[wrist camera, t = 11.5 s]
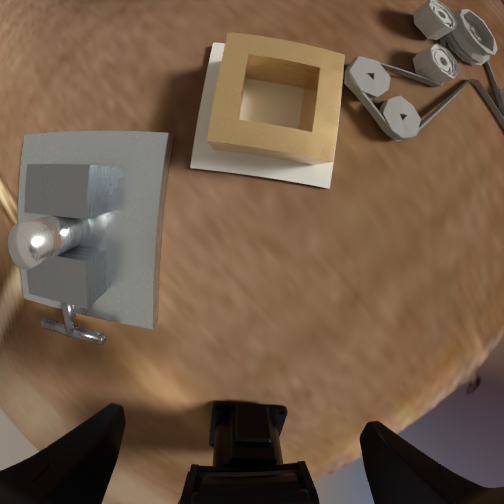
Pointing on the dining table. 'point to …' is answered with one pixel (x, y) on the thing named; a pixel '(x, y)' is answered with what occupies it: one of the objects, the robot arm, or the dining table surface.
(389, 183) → the dining table surface
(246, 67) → the brass collar
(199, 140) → the felt mat
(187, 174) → the dining table surface
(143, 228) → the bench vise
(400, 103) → the pulley system
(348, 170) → the dining table surface
